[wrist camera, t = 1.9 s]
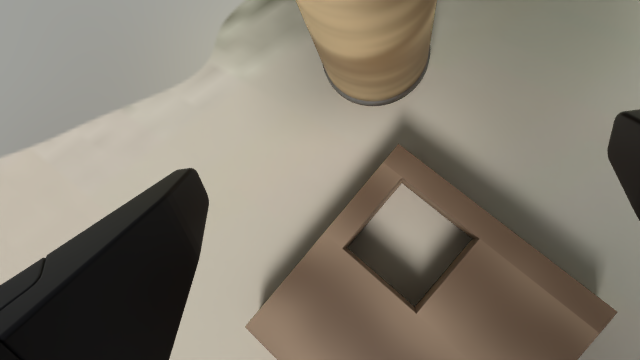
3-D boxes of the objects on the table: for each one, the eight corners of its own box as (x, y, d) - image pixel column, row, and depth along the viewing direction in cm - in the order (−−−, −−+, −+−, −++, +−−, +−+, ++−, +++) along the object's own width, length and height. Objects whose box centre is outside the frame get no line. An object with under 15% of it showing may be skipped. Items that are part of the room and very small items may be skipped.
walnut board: (434, 495, 20) (438, 522, 18) (258, 319, 23) (244, 326, 21) (596, 305, 20) (617, 312, 18) (398, 152, 23) (398, 143, 21)
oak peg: (383, 135, 23) (364, 4, 10) (309, 79, 24) (211, -99, 12) (448, 58, 23) (509, -169, 10) (370, 6, 24) (339, -254, 11)
